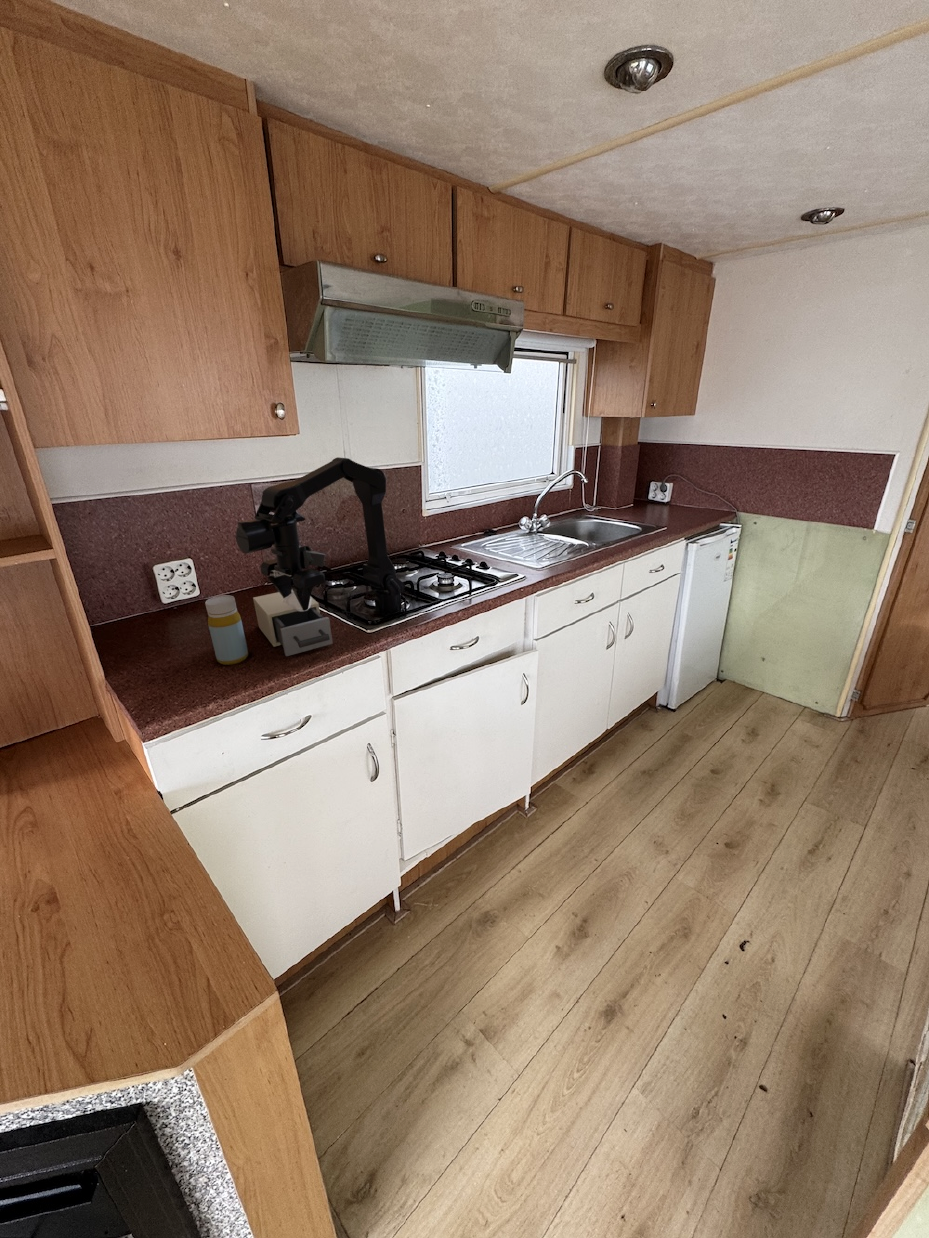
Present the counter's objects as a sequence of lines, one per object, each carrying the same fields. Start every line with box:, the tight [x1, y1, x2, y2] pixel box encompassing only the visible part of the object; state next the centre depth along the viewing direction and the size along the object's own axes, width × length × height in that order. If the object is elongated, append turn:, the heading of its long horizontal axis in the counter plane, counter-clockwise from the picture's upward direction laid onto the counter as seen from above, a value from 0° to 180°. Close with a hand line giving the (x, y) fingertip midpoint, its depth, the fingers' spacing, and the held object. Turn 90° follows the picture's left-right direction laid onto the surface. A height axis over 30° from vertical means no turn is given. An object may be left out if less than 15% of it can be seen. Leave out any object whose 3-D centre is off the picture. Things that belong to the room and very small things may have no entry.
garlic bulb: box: [283, 592, 312, 612], centre depth 128 cm, size 6×6×5 cm
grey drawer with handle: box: [272, 608, 333, 657], centre depth 130 cm, size 19×11×7 cm, turn 33°
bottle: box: [204, 594, 249, 666], centre depth 124 cm, size 7×7×15 cm
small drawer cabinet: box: [252, 590, 321, 648], centre depth 139 cm, size 15×13×9 cm
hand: (297, 606), depth 129 cm, fingers closed on garlic bulb, 7 cm apart
